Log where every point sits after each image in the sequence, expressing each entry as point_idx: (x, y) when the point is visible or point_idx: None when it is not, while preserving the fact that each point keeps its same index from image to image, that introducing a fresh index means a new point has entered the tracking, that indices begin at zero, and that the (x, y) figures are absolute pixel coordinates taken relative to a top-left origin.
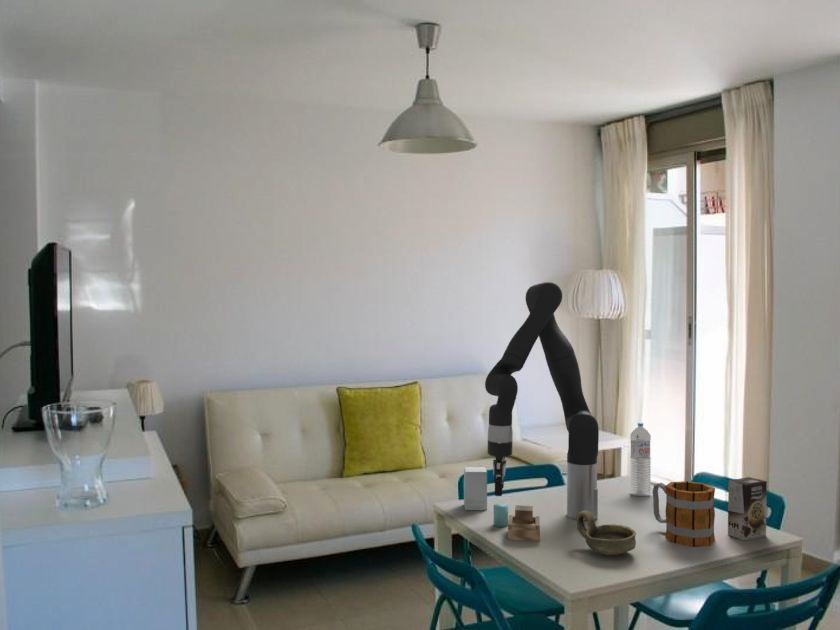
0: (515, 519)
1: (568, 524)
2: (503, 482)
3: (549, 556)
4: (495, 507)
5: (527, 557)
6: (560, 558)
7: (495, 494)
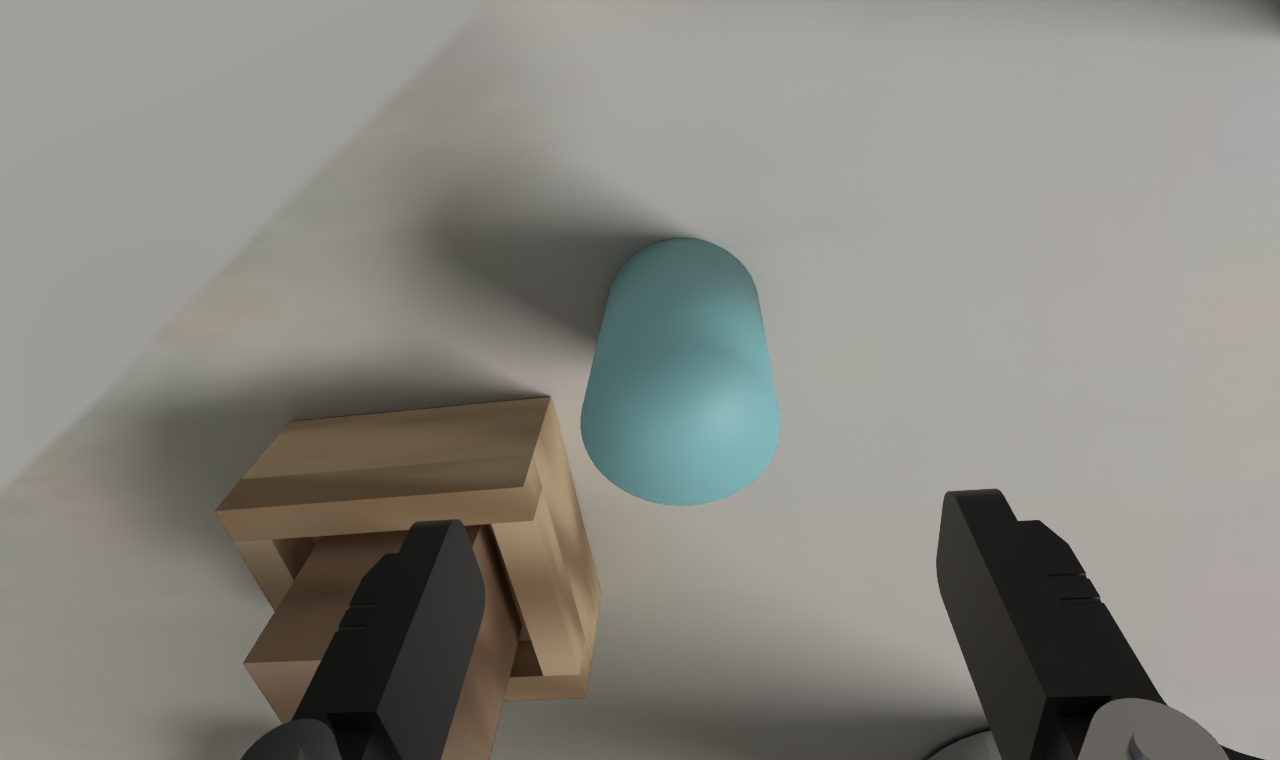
0: (296, 583)
1: (811, 726)
2: (974, 677)
3: (134, 658)
4: (601, 370)
5: (26, 564)
6: (143, 699)
7: (414, 537)
